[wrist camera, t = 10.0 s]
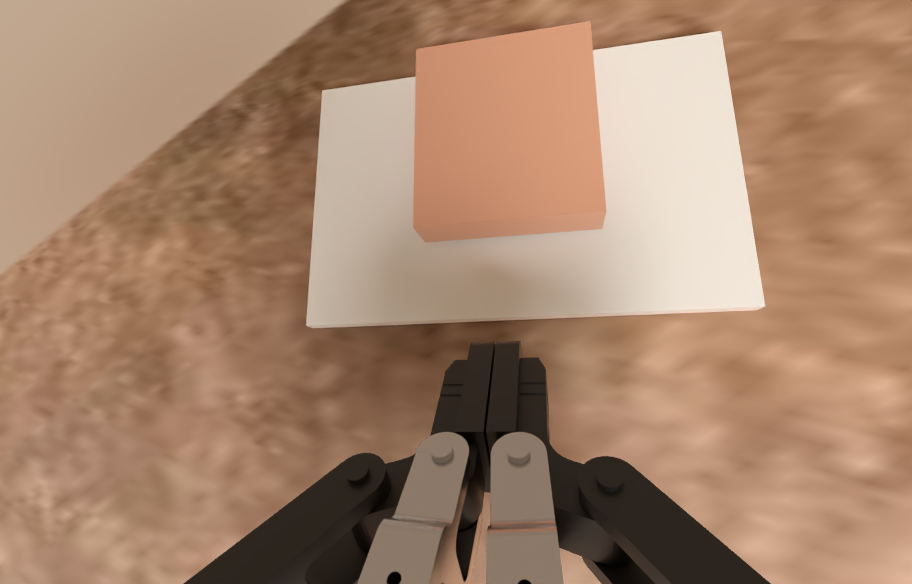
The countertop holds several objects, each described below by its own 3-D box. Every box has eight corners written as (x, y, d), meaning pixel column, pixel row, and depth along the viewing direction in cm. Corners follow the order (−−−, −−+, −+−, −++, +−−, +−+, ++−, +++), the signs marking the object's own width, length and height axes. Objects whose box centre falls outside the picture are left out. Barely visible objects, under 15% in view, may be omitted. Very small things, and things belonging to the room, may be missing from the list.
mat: (314, 328, 24) (306, 325, 23) (329, 99, 27) (322, 90, 26) (757, 310, 20) (765, 306, 19) (715, 43, 23) (720, 31, 22)
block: (413, 227, 21) (416, 49, 23) (426, 244, 23) (428, 79, 25) (606, 211, 19) (590, 21, 21) (601, 230, 21) (587, 56, 23)
